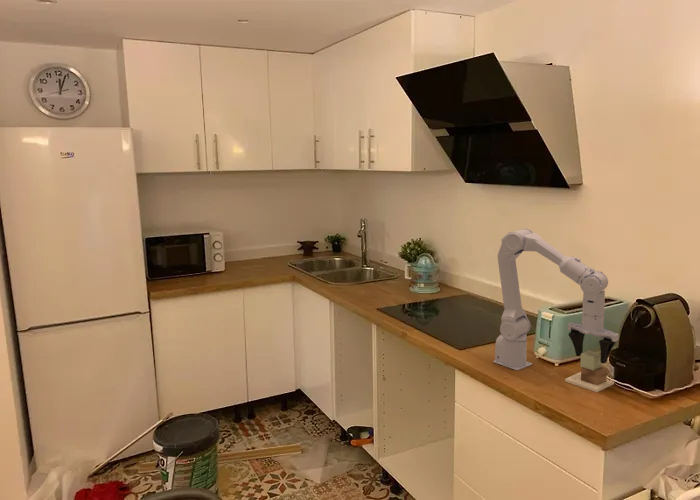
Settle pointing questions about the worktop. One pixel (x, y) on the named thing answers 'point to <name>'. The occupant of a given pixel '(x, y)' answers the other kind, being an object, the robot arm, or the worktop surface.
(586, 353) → the sage brick
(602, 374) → the walnut brick
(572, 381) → the plate
